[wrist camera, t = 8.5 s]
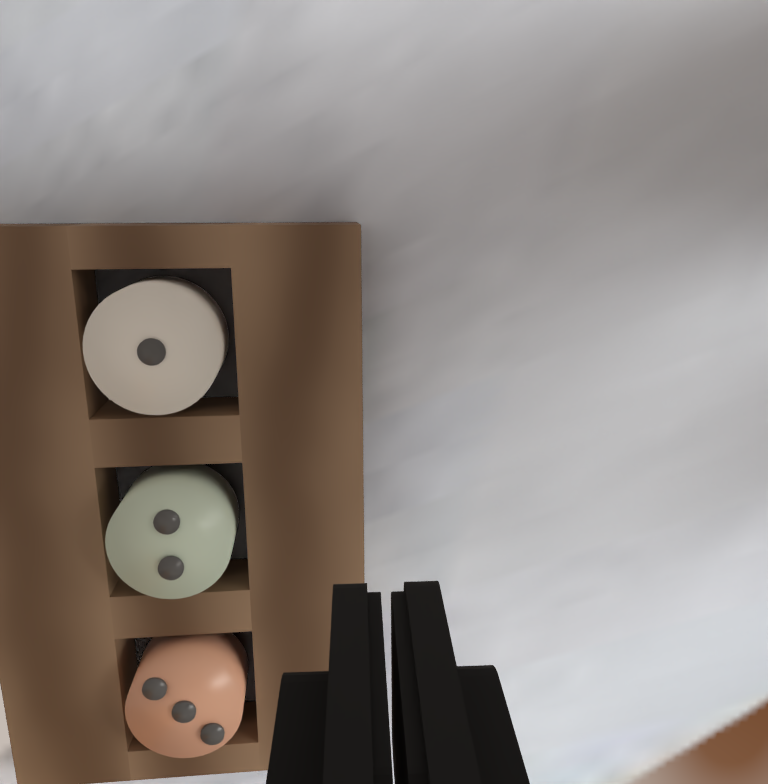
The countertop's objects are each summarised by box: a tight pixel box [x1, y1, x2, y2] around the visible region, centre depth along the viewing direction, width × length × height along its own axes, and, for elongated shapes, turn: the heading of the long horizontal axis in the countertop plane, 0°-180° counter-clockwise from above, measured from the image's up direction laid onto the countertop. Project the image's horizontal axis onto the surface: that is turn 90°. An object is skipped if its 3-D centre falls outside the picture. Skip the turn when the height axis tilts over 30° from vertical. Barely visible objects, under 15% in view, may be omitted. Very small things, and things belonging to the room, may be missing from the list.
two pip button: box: [105, 464, 239, 599], centre depth 26 cm, size 4×4×3 cm
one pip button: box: [83, 276, 229, 415], centre depth 24 cm, size 4×4×3 cm
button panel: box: [0, 222, 364, 784], centre depth 27 cm, size 14×22×2 cm, turn 0°
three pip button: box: [125, 632, 249, 758], centre depth 28 cm, size 4×4×3 cm
